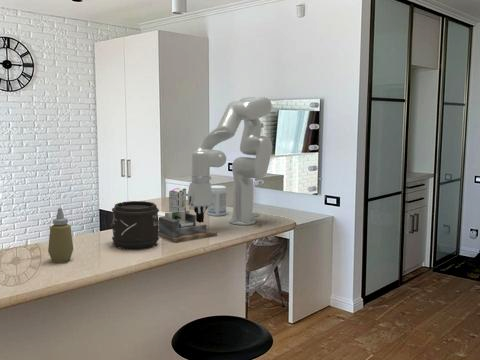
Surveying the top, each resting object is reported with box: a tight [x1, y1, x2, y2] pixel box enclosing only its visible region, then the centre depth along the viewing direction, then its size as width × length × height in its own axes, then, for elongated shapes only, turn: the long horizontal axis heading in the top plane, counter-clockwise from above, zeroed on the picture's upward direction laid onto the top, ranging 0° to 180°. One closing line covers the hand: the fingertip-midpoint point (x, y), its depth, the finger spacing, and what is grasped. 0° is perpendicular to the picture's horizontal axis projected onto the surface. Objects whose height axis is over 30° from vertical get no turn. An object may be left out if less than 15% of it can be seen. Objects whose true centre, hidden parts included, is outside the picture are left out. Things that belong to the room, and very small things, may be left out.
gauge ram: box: [175, 212, 197, 228], centre depth 200 cm, size 7×9×7 cm
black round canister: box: [110, 200, 160, 251], centre depth 182 cm, size 18×18×16 cm
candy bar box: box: [168, 187, 187, 213], centre depth 219 cm, size 11×5×16 cm, turn 168°
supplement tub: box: [207, 184, 227, 217], centre depth 244 cm, size 10×10×15 cm
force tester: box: [158, 209, 218, 244], centre depth 199 cm, size 21×16×9 cm
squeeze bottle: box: [47, 207, 74, 263], centre depth 159 cm, size 8×8×18 cm
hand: (199, 221), depth 204 cm, fingers closed
